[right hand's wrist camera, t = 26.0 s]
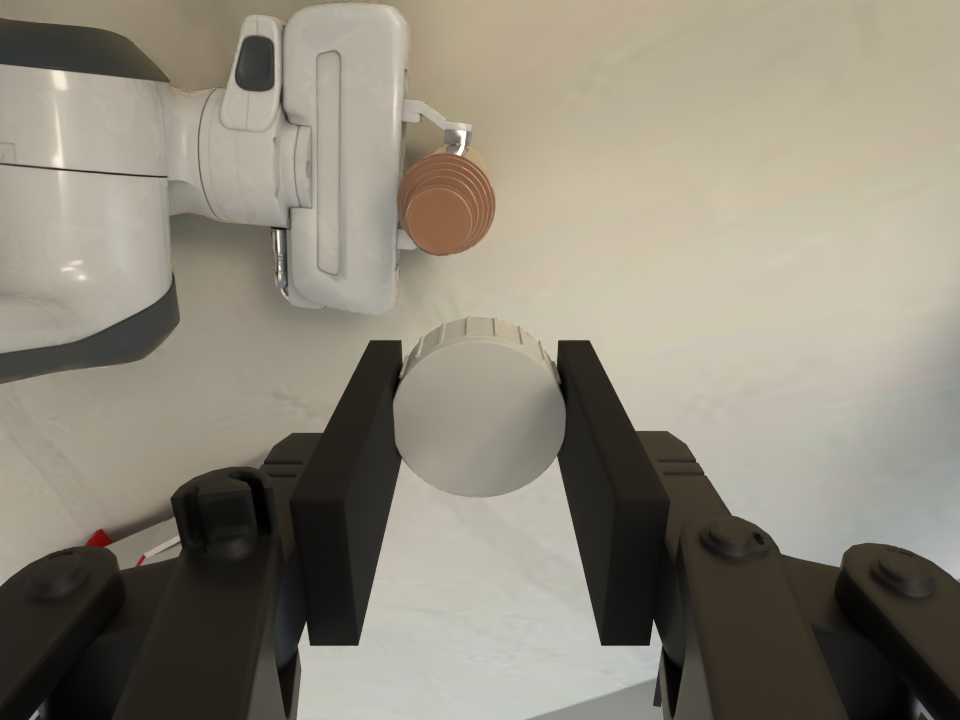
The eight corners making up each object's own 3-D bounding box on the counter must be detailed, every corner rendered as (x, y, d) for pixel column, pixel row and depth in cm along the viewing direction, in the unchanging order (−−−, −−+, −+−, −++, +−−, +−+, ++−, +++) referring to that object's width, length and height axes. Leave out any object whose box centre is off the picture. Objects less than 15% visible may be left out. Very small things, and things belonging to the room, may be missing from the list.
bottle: (415, 177, 47) (355, 227, 24) (454, 128, 46) (431, 131, 23) (461, 218, 48) (446, 303, 25) (500, 171, 47) (524, 216, 24)
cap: (426, 476, 15) (420, 515, 14) (376, 339, 14) (363, 366, 12) (574, 440, 15) (585, 477, 13) (538, 296, 14) (546, 318, 12)
